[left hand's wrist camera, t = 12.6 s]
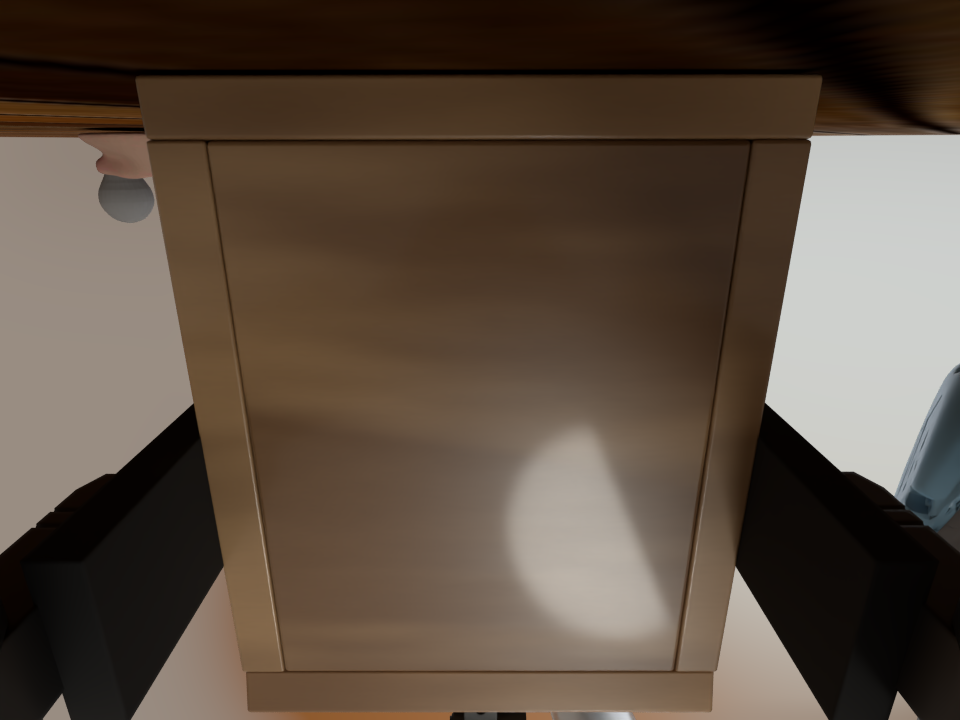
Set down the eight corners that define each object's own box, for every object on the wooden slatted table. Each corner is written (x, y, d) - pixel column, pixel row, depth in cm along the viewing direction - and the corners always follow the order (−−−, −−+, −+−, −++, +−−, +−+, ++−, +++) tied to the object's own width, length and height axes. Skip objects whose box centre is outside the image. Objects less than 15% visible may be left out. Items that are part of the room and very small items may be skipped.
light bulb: (130, 138, 69) (147, 225, 73) (150, 138, 75) (165, 219, 78) (75, 138, 68) (94, 225, 72) (100, 138, 74) (117, 220, 77)
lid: (580, 458, 28) (577, 622, 29) (380, 458, 28) (383, 622, 29) (715, 670, 12) (700, 1028, 13) (244, 670, 12) (259, 1027, 13)
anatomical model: (75, 201, 36) (274, 195, 40) (59, 131, 34) (266, 133, 39) (107, 188, 47) (259, 184, 51) (96, 134, 46) (253, 135, 50)
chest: (602, 119, 23) (586, 379, 27) (357, 119, 23) (374, 379, 27) (825, 73, 8) (717, 673, 12) (132, 74, 8) (242, 672, 12)
